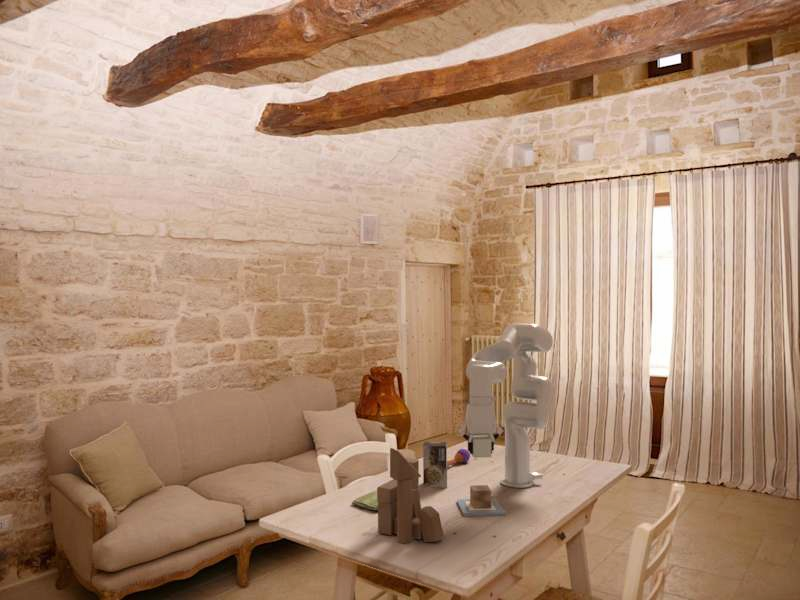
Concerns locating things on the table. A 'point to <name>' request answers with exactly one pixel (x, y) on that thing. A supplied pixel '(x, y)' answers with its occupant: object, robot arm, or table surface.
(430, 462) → the coffee box
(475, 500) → the walnut block
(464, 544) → the table surface
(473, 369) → the robot arm
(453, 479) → the table surface
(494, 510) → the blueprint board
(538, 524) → the table surface
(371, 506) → the washcloth
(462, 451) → the kendama
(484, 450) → the sage block
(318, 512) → the table surface
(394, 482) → the wooden blocks
